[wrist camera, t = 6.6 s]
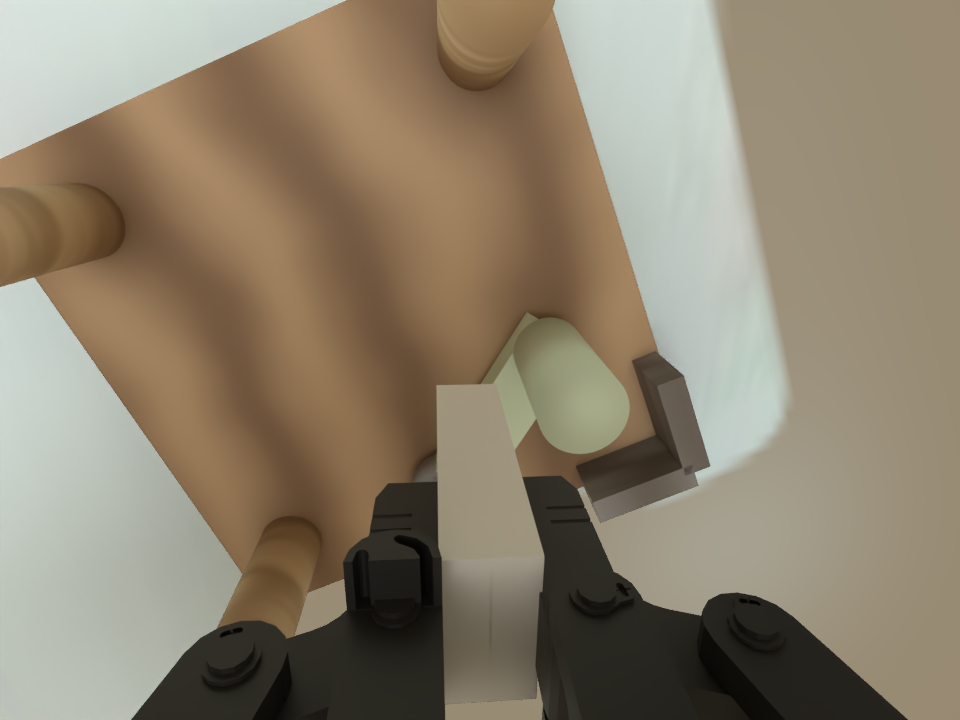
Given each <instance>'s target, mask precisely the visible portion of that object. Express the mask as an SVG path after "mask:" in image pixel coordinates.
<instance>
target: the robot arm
mask: <svg viewBox="0 0 960 720" xmlns="http://www.w3.org/2000/svg"><path fill="white" fill-rule="evenodd" d="M436 387H437V473H438V482H410V483H388V484H387V485H386V486H385V488H384V489H383V490H382V491H381V492H380V493H379V495H378V496H377V497H376V498H375V503H374V509H373V514H372V520H371V526H370V533H369V536H368V537H366V538H363V539H361V540H360V541H359V542H358V543H356V544H355V545H354V546H353V547H352V548H350V549H349V551H348V553H347V555H346V557H345V559H344V561H343V570H344V580H345V592H346V603H347V610H346V611H345V612H344V613H343V614H342V615H341V616H340V617H338V618H337V619H335V620H334V621H332V622H330V623H329V624H327V625H325V626H323V627H320V628H318V629H315V630H313V631H310V632H306V633H303V634H300V635H297V636H294V637H290V638H287V639H286V636H285V635H284V634H283V633H282V632H281V631H280V630H279V629H278V628H277V626H275V625H272V624H269V623H266V622H263V621H261V620H256V621H239V622H235V623H232V624H228V625H225V626H222V627H219V628H217V629H216V630H214V631H212V632H210V633H209V634H207V635H205V636H203V637H202V638H200V639H199V640H198V641H197V642H196V643H195V644H194V645H193V646H192V647H191V648H190V649H188V650H187V651H186V652H185V653H184V654H183V656H182V657H181V658H180V659H179V661H178V662H177V663H176V664H175V666H174V667H173V668H172V669H171V671H170V672H169V673H168V674H167V676H166V677H165V678H164V679H163V681H162V682H161V683H160V684H159V686H158V687H157V688H156V689H155V691H154V692H153V693H152V694H151V696H150V697H149V698H148V699H147V701H146V702H145V703H144V704H143V706H142V707H141V708H140V709H139V711H138V712H137V713H136V714H135V716H134V717H133V718H132V719H131V720H445V705H446V704H461V703H476V702H492V701H507V700H523V699H536V694H537V677H538V682H539V687H540V691H541V696H542V701H543V713H542V720H908V719H906V718H905V717H904V716H903V715H902V714H901V713H900V712H899V711H898V710H897V709H895V708H894V707H893V706H892V705H891V704H889V702H888V701H886V700H885V699H884V698H883V697H882V696H881V695H880V694H879V693H877V692H876V691H875V690H874V689H873V688H872V687H871V686H870V685H869V684H868V683H866V682H865V681H864V680H863V679H862V678H861V677H860V676H859V675H857V674H856V673H855V672H854V671H853V670H852V669H851V668H850V667H849V666H847V665H846V664H845V663H844V662H843V661H842V660H841V659H840V658H839V657H837V656H836V655H835V654H834V653H833V652H832V651H831V650H830V649H829V648H827V647H826V646H825V645H824V644H823V643H822V642H821V641H820V640H818V639H817V638H816V637H815V636H814V635H813V634H812V633H811V632H810V631H808V630H807V629H806V628H805V627H804V626H803V625H802V624H801V623H799V622H798V621H797V620H796V619H795V618H794V617H793V616H791V615H790V614H788V613H787V612H786V611H784V610H783V609H781V608H780V607H778V606H777V605H775V604H773V603H771V602H769V601H766V600H763V599H762V598H759V597H757V596H752V595H747V594H741V593H728V594H720V595H718V596H716V597H714V598H712V599H710V600H708V602H707V604H706V605H705V607H704V609H703V611H702V616H699V615H694V614H689V613H684V612H679V611H674V610H669V609H665V608H661V607H658V606H655V605H652V604H650V603H648V602H645V601H643V599H642V597H641V595H640V594H639V593H638V591H637V590H636V588H635V587H634V586H633V584H632V583H631V582H629V581H628V580H626V579H625V578H623V577H622V576H620V575H619V574H617V573H615V572H613V569H612V567H611V565H610V562H609V560H608V558H607V556H606V553H605V551H604V549H603V547H602V544H601V542H600V540H599V538H598V535H597V533H596V531H595V528H594V526H593V524H592V522H590V517H589V515H588V513H587V510H586V509H585V508H584V504H583V501H582V499H581V497H580V494H579V492H578V490H577V489H576V488H575V487H574V486H573V485H572V484H570V483H569V482H568V481H567V480H566V479H565V478H563V477H562V476H534V477H522V475H521V471H520V468H519V464H518V461H517V457H516V453H515V450H514V446H513V443H512V439H511V436H510V432H509V429H508V425H507V422H506V418H505V415H504V411H503V408H502V404H501V400H500V397H499V393H498V390H497V386H496V384H469V385H436Z"/></svg>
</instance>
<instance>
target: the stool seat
mask: <svg viewBox="0 0 960 720" xmlns="http://www.w3.org/2000/svg"><path fill="white" fill-rule="evenodd" d="M554 2H555V0H346V1H344V2H342V3H340V4H338V5H335V6H333V7H331V8H329V9H327V10H324V11H322V12H320V13H318V14H316V15H314V16H311V17H309V18H307V19H305V20H303V21H300V22H298V23H296V24H294V25H292V26H290V27H287V28H285V29H283V30H281V31H279V32H276V33H274V34H272V35H270V36H268V37H266V38H263V39H261V40H259V41H257V42H255V43H252V44H250V45H248V46H246V47H244V48H242V49H239V50H237V51H235V52H233V53H231V54H229V55H226V56H224V57H222V58H220V59H218V60H215V61H213V62H211V63H209V64H207V65H205V66H202V67H200V68H198V69H196V70H194V71H191V72H189V73H187V74H185V75H183V76H181V77H178V78H176V79H174V80H172V81H170V82H167V83H165V84H163V85H161V86H159V87H157V88H154V89H152V90H150V91H148V92H146V93H143V94H141V95H139V96H137V97H135V98H133V99H130V100H128V101H126V102H124V103H122V104H120V105H117V106H115V107H113V108H111V109H109V110H106V111H104V112H102V113H100V114H98V115H96V116H93V117H91V118H89V119H87V120H85V121H82V122H80V123H78V124H76V125H74V126H72V127H69V128H67V129H65V130H63V131H61V132H58V133H56V134H54V135H52V136H50V137H48V138H45V139H43V140H41V141H39V142H37V143H34V144H32V145H30V146H28V147H26V148H24V149H21V150H19V151H17V152H15V153H13V154H11V155H8V156H6V157H4V158H2V159H0V287H1V286H5V285H8V284H12V283H16V282H19V281H23V280H26V279H30V278H33V277H35V279H36V280H37V282H38V283H39V284H40V286H41V287H42V289H43V290H44V292H45V293H46V294H47V296H48V297H49V299H50V300H51V302H52V303H53V304H54V306H55V307H56V309H57V310H58V312H59V313H60V314H61V316H62V317H63V319H64V320H65V322H66V323H67V324H68V326H69V327H70V329H71V330H72V331H73V333H74V334H75V336H76V337H77V339H78V340H79V341H80V343H81V344H82V346H83V347H84V349H85V350H86V351H87V353H88V354H89V356H90V357H91V359H92V360H93V361H94V363H95V364H96V366H97V367H98V368H99V370H100V371H101V373H102V374H103V376H104V377H105V378H106V380H107V381H108V383H109V384H110V386H111V387H112V388H113V390H114V391H115V393H116V394H117V396H118V397H119V398H120V400H121V401H122V403H123V404H124V406H125V407H126V408H127V410H128V411H129V413H130V414H131V415H132V417H133V418H134V420H135V421H136V423H137V424H138V425H139V427H140V428H141V430H142V431H143V433H144V434H145V435H146V437H147V438H148V440H149V441H150V443H151V444H152V445H153V447H154V448H155V450H156V451H157V452H158V454H159V455H160V457H161V458H162V460H163V461H164V462H165V464H166V465H167V467H168V468H169V470H170V471H171V472H172V474H173V475H174V477H175V478H176V480H177V481H178V482H179V484H180V485H181V487H182V488H183V490H184V491H185V492H186V494H187V495H188V497H189V498H190V499H191V501H192V502H193V504H194V505H195V507H196V508H197V509H198V511H199V512H200V514H201V515H202V517H203V518H204V519H205V521H206V522H207V524H208V525H209V527H210V528H211V529H212V531H213V532H214V534H215V535H216V536H217V538H218V539H219V541H220V542H221V544H222V545H223V546H224V548H225V549H226V551H227V552H228V554H229V555H230V556H231V558H232V559H233V561H234V562H235V564H236V565H237V566H238V568H239V569H240V571H241V572H242V574H243V575H242V577H241V579H240V581H239V583H238V585H237V587H236V590H235V592H234V594H233V596H232V598H231V600H230V602H229V604H228V606H227V608H226V611H225V613H224V615H223V617H222V619H221V621H220V623H219V625H218V627H217V628H219V627H222V626H225V625H228V624H232V623H235V622H239V621H256V620H261V621H263V622H266V623H269V624H272V625H275V626H277V628H278V629H279V630H280V631H281V632H282V633H283V634H284V635H285V636H286V639H287V638H290V637H294V635H295V631H296V628H297V625H298V622H299V619H300V615H301V612H302V609H303V606H304V602H305V599H306V596H307V593H308V592H310V591H313V590H316V589H318V588H321V587H323V586H326V585H329V584H331V583H334V582H336V581H339V580H342V579H344V570H343V561H344V559H345V557H346V555H347V553H348V551H349V549H350V548H352V547H353V546H354V545H355V544H356V543H358V542H359V541H360V540H361V539H363V538H366V537H368V536H369V533H370V526H371V520H372V514H373V509H374V503H375V498H376V497H377V496H378V495H379V493H380V492H381V491H382V490H383V489H384V488H385V486H386V485H387V484H388V483H410V482H412V479H413V475H414V472H415V470H416V468H417V467H418V466H419V464H420V463H421V462H422V461H423V460H425V459H426V458H428V457H429V456H431V455H434V454H436V453H437V387H436V385H469V384H481V382H482V381H483V379H484V378H485V376H486V375H487V373H488V371H489V370H490V368H491V367H492V365H493V364H494V362H495V360H496V359H497V357H498V356H499V354H500V353H501V351H502V350H503V348H504V346H505V345H506V343H507V342H508V340H509V339H510V337H511V335H512V334H513V332H514V331H515V329H516V328H517V326H518V325H519V323H520V321H521V320H522V318H523V317H524V315H525V314H526V312H527V313H529V314H531V315H533V316H534V317H536V318H538V319H542V318H550V317H551V318H559V319H562V320H564V321H566V322H568V323H570V324H571V325H572V326H573V327H574V328H575V329H576V330H577V331H578V332H579V334H580V335H581V336H582V337H583V338H584V340H585V341H586V342H587V343H588V344H589V346H590V347H591V348H592V349H593V350H594V352H595V353H596V354H597V355H598V357H599V358H600V359H601V360H602V361H603V363H604V364H605V365H606V366H607V367H608V369H609V370H610V371H611V372H612V373H613V375H614V376H615V377H616V378H617V379H618V381H619V382H620V383H621V384H622V386H623V387H624V389H625V390H626V393H627V395H628V398H629V405H630V411H629V417H628V420H627V423H626V425H625V427H624V429H623V431H622V432H621V434H620V435H619V436H618V437H617V438H616V439H615V440H614V441H613V442H612V443H610V444H609V445H608V446H606V447H604V448H602V449H600V450H598V451H595V452H592V453H586V454H573V453H568V452H564V451H562V450H559V449H557V448H556V447H554V446H553V445H552V444H550V443H549V442H548V441H547V440H546V438H545V437H544V435H543V434H542V432H541V430H540V427H539V425H538V422H537V419H536V420H535V421H534V423H533V424H532V426H531V427H530V429H529V430H528V431H527V433H526V434H525V436H524V437H523V439H522V440H521V442H520V443H519V445H518V446H517V448H516V449H515V453H516V457H517V461H518V464H519V468H520V471H521V475H522V477H534V476H562V477H563V478H565V479H566V480H567V481H568V482H569V483H570V484H572V485H573V486H574V487H575V488H576V489H578V488H580V487H583V486H584V488H585V490H586V492H587V495H588V497H589V499H590V501H591V503H592V506H593V507H594V510H595V512H596V515H597V517H598V519H599V521H600V523H601V522H604V521H607V520H609V519H611V518H614V517H617V516H620V515H622V514H625V513H627V512H630V511H633V510H635V509H638V508H641V507H643V506H646V505H649V504H651V503H654V502H657V501H659V500H662V499H665V498H667V497H670V496H672V495H675V494H678V493H680V492H683V491H686V490H688V489H691V488H693V487H696V486H698V483H697V479H696V476H695V473H694V472H697V471H699V470H702V469H704V468H707V467H710V463H709V460H708V457H707V453H706V450H705V446H704V443H703V440H702V436H701V433H700V430H699V426H698V423H697V419H696V416H695V413H694V409H693V406H692V402H691V399H690V396H689V392H688V389H687V385H686V382H685V379H684V376H683V375H682V374H681V373H680V372H679V371H678V370H677V369H675V368H674V367H673V366H672V365H671V364H670V363H668V362H667V361H666V360H665V359H664V358H663V357H661V356H660V355H659V354H658V350H657V347H656V344H655V341H654V337H653V334H652V331H651V328H650V324H649V321H648V318H647V315H646V311H645V308H644V305H643V302H642V298H641V295H640V292H639V289H638V285H637V282H636V279H635V275H634V272H633V269H632V266H631V262H630V259H629V256H628V253H627V249H626V246H625V243H624V240H623V236H622V233H621V230H620V227H619V223H618V220H617V217H616V214H615V210H614V207H613V204H612V201H611V197H610V194H609V191H608V188H607V184H606V181H605V178H604V175H603V171H602V168H601V165H600V162H599V158H598V155H597V152H596V149H595V145H594V142H593V139H592V136H591V132H590V129H589V126H588V123H587V119H586V116H585V113H584V109H583V106H582V103H581V100H580V96H579V93H578V90H577V87H576V83H575V80H574V77H573V74H572V70H571V67H570V64H569V61H568V57H567V54H566V51H565V48H564V44H563V41H562V38H561V35H560V31H559V28H558V25H557V22H556V18H555V15H554V12H553V9H552V8H553V6H554Z"/></svg>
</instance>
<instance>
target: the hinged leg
mask: <svg viewBox="0 0 960 720" xmlns="http://www.w3.org/2000/svg"><path fill="white" fill-rule="evenodd" d="M481 384H496V386H497V390H498V393H499V397H500V400H501V404H502V408H503V411H504V415H505V418H506V422H507V425H508V429H509V432H510V436H511V439H512V443H513V446H514V450H515V449H516V448H517V446H518V445H519V443H520V442H521V440H522V439H523V437H524V436H525V434H526V433H527V431H528V430H529V429H530V427H531V426H532V424H533V423H534V421H535V420H536V419H537V422H538V425H539V427H540V430H541V432H542V434H543V435H544V437H545V438H546V440H547V441H548V442H549V443H550V444H552V445H553V446H554V447H556V448H557V449H559V450H562V451H564V452H568V453H573V454H586V453H592V452H595V451H598V450H600V449H602V448H604V447H606V446H608V445H609V444H610V443H612V442H613V441H614V440H615V439H616V438H617V437H618V436H619V435H620V434H621V432H622V431H623V429H624V427H625V425H626V423H627V420H628V417H629V411H630V405H629V398H628V395H627V393H626V390H625V389H624V387H623V386H622V384H621V383H620V382H619V381H618V379H617V378H616V377H615V376H614V375H613V373H612V372H611V371H610V370H609V369H608V367H607V366H606V365H605V364H604V363H603V361H602V360H601V359H600V358H599V357H598V355H597V354H596V353H595V352H594V350H593V349H592V348H591V347H590V346H589V344H588V343H587V342H586V341H585V340H584V338H583V337H582V336H581V335H580V334H579V332H578V331H577V330H576V329H575V328H574V327H573V326H572V325H571V324H570V323H568V322H566V321H564V320H562V319H559V318H551V317H550V318H542V319H538V318H536V317H534V316H533V315H531V314H529V313H527V312H526V314H525V315H524V317H523V318H522V320H521V321H520V323H519V325H518V326H517V328H516V329H515V331H514V332H513V334H512V335H511V337H510V339H509V340H508V342H507V343H506V345H505V346H504V348H503V350H502V351H501V353H500V354H499V356H498V357H497V359H496V360H495V362H494V364H493V365H492V367H491V368H490V370H489V371H488V373H487V375H486V376H485V378H484V379H483V381H482V382H481ZM412 482H438V473H437V453H436V454H434V455H431V456H429V457H428V458H426V459H425V460H423V461H422V462H421V463H420V464H419V466H418V467H417V468H416V470H415V472H414V475H413V479H412Z"/></svg>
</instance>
